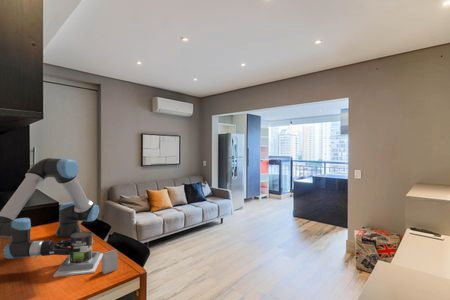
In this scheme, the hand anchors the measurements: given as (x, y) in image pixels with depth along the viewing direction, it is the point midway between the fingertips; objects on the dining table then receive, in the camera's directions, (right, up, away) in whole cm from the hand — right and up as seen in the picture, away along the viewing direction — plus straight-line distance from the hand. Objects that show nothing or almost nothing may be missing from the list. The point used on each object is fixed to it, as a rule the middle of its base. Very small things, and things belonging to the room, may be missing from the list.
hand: (90, 244), depth 130 cm
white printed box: (+14, -11, -6) cm, 19 cm away
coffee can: (-4, -8, -1) cm, 9 cm away
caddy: (-4, -10, -1) cm, 11 cm away
